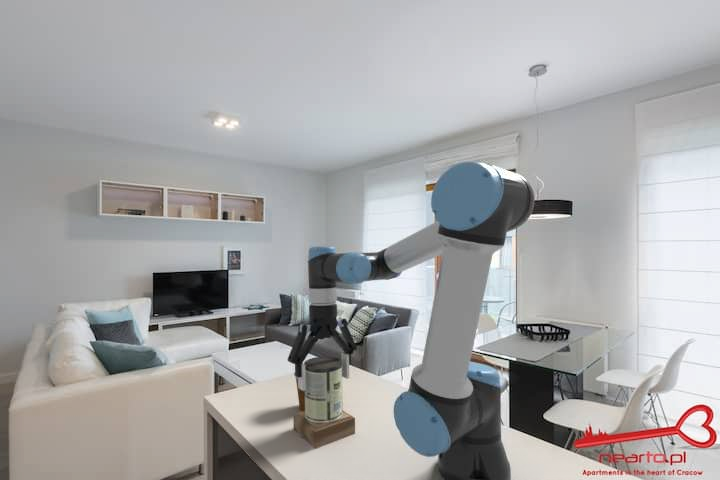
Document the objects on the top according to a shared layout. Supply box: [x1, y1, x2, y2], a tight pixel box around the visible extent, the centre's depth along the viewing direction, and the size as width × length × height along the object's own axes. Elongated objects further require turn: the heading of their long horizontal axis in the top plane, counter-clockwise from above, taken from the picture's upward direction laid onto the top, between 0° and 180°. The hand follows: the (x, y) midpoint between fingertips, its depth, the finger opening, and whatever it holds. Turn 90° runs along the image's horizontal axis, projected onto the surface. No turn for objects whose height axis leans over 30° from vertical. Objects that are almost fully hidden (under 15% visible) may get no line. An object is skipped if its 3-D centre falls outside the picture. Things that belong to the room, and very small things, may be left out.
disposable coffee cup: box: [293, 372, 305, 412], centre depth 111 cm, size 10×10×12 cm
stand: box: [292, 409, 356, 449], centre depth 97 cm, size 12×12×4 cm
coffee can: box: [303, 356, 344, 423], centre depth 97 cm, size 10×10×14 cm
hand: (324, 383), depth 97 cm, fingers open, 13 cm apart
